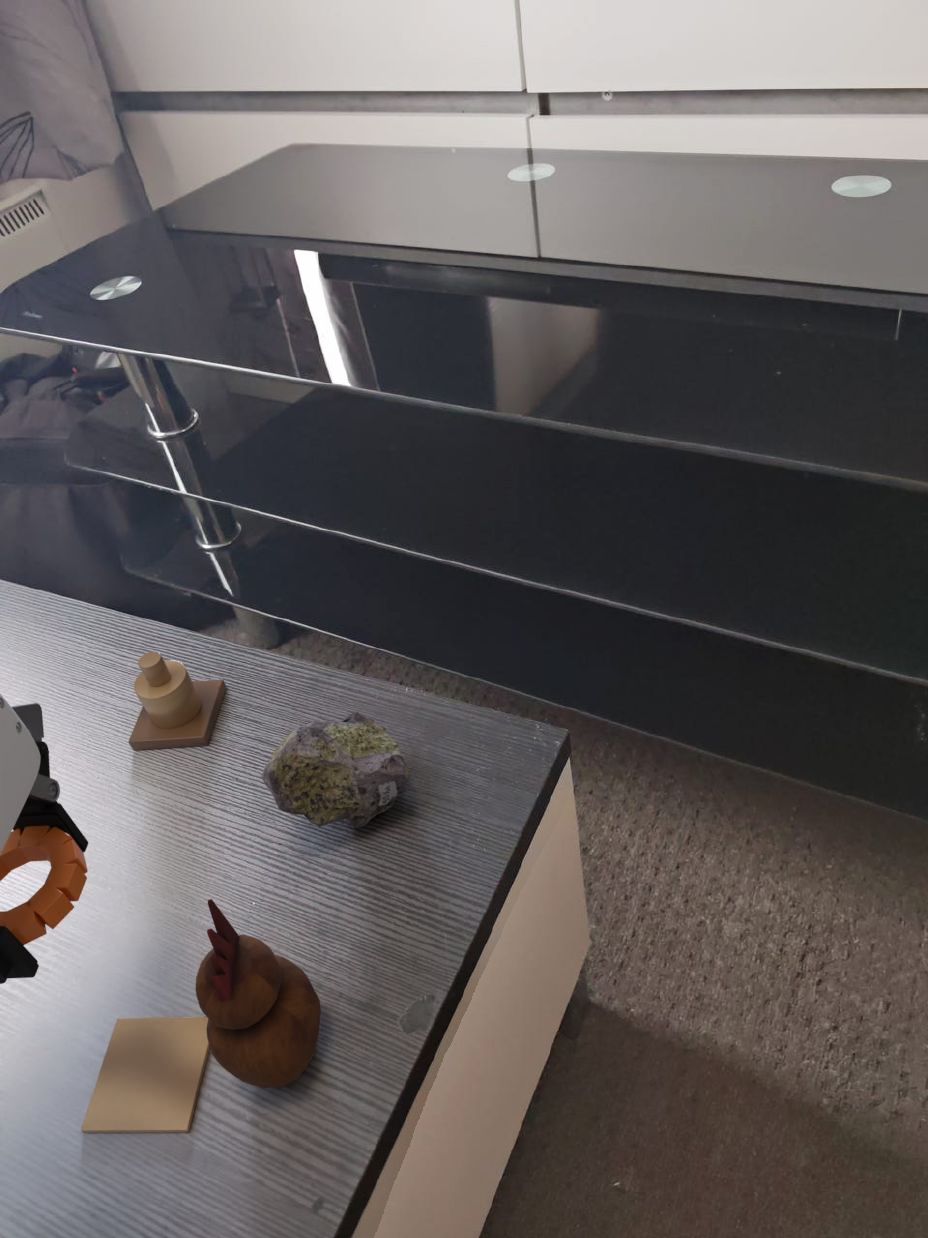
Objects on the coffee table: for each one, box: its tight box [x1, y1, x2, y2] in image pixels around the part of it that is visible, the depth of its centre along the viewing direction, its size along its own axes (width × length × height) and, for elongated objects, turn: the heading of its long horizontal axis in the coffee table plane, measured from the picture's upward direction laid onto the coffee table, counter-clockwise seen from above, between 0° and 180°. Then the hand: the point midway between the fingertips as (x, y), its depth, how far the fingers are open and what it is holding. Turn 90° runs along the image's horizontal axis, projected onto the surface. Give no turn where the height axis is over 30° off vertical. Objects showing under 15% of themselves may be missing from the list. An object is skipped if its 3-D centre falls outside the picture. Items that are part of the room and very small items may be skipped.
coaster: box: [80, 1016, 211, 1134], centre depth 59 cm, size 7×7×1 cm
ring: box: [0, 826, 88, 946], centre depth 48 cm, size 7×7×1 cm
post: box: [127, 650, 228, 751], centre depth 80 cm, size 7×7×8 cm
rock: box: [260, 711, 410, 829], centre depth 69 cm, size 11×10×10 cm
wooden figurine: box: [195, 898, 322, 1089], centre depth 54 cm, size 7×6×15 cm
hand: (37, 907), depth 50 cm, fingers closed on ring, 6 cm apart
